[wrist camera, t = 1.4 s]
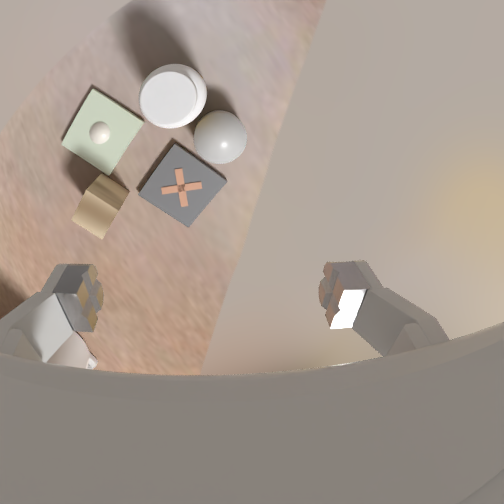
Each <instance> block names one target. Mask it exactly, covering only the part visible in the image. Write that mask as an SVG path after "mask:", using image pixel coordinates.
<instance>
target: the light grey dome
mask: <svg viewBox="0 0 504 504" xmlns="http://www.w3.org/2000/svg"><path fill="white" fill-rule="evenodd" d="M246 142H247V133H246V130H245V127H244V126H243V124H242V123H241V122H240V120H239V119H238V118H237V117H236V116H235V115H234V114H232V113H230V112H228V111H224V110H216V111H212V112H209V113H207V114H206V115H204V116H203V117H202V118H201V119H200V120H199V122H198V123H197V125H196V128H195V133H194V146H195V149H196V151H197V152H198V154H199V155H200V156H201V157H202V158H203V159H205V160H206V161H208V162H211V163H215V164H224V163H228V162H231V161H233V160H234V159H236V158H237V157H238V156H239V155H240V154H241V153H242V152H243V150H244V148H245V146H246Z"/></svg>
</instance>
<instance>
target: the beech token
mask: <svg viewBox="0 0 504 504" xmlns="http://www.w3.org/2000/svg"><path fill="white" fill-rule="evenodd" d="M129 192H130V191H129V190H127V189H125V188H124V187H122V186H121V185H119V184H118V183H116V182H115V181H113V180H112V179H110V178H109V177H107V176H106V175H104V174H102V173H101V174H100V175H99V176H98V177H97V179H96V180H95V181H94V182H93V183H92V184H91V185H90V186H89V187H88V188H87V190H86V191H85V193H84V195H83V197H82V199H81V201H80V203H79V205H78V207H77V209H76V212H75V214H74V216H73V218H72V221H73V222H75V223H76V224H78V225H80V226H81V227H83V228H84V229H86V230H88V231H89V232H91V233H92V234H94V235H96V236H97V237H99V238H100V239H103V237H104V235H105V233H106V232H107V230H108V228H109V227H110V225H111V223H112V221H113V220H114V218H115V216H116V215H117V213H118V211H119V210H120V208H121V206H122V204H123V202H124V201H125V199H126V197H127V195H128V194H129Z"/></svg>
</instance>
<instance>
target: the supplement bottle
mask: <svg viewBox="0 0 504 504" xmlns="http://www.w3.org/2000/svg"><path fill="white" fill-rule="evenodd" d="M206 98H207V87H206V84H205V81H204V79H203V77H202V76H201V75H200V74H199V73H198V72H197V71H196V70H194V69H193V68H191V67H189V66H186V65H182V64H168V65H164V66H161V67H159V68H157V69H156V70H154V71H153V72H151V73H150V74H149V75H148V76H147V77H146V79H145V80H144V82H143V84H142V86H141V88H140V92H139V105H140V109H141V111H142V113H143V115H144V116H145V117H146V119H147V120H149V121H150V122H151V123H153V124H154V125H156V126H159V127H162V128H177V127H181V126H184V125H186V124H188V123H190V122H191V121H193V120H194V119H195V118H196V117H197V116H198V115H199V114H200V112H201V111H202V109H203V107H204V105H205V102H206Z"/></svg>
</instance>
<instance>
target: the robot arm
mask: <svg viewBox="0 0 504 504" xmlns="http://www.w3.org/2000/svg"><path fill="white" fill-rule="evenodd" d="M323 272H324V275H325V277H324V278H323V279H322V280H321V281H320V286H319V299H320V303H321V306H322V307H324V308H325V309H326V310H327V311H326V314H325V316H326V318H327V321H328V323H329V326H330V328H331V329H333V328H344V327H352V329H353V330H354V331H356V332H357V333H358V334H359V335H360V336H361V337H362V338H363V339H365V340H366V341H367V342H368V343H369V344H370V345H371V346H372V347H373V348H375V350H377V351H378V352H379V353H380V354H381V355H382V356H383V357H380V358H374V359H369V360H363V361H358V362H352V363H346V364H339V365H333V366H326V367H318V368H310V369H302V370H294V371H282V372H271V373H257V374H240V375H239V374H238V375H155V374H137V373H123V372H112V371H102V370H93V368H94V367H96V365H97V362H98V361H97V359H96V358H95V357H94V356H93V355H92V354H91V353H90V352H89V350H88V348H87V346H86V344H85V342H84V341H83V339H82V338H81V337H80V336H79V335H78V334H77V333H76V332H75V331H80V332H94V329H95V326H96V323H97V320H98V317H97V314H96V313H97V312H98V311H99V310H101V308H102V305H103V298H104V294H103V288H102V285H101V283H100V282H99V281H98V280H97V279H96V278H97V275H98V272H97V269H96V266H94V265H93V264H58V265H56V267H55V268H54V270H53V272H52V273H51V275H50V277H49V278H48V280H47V282H46V283H45V285H44V287H43V289H42V290H41V292H37V293H35V294H34V295H32V296H31V297H30V298H28V299H27V300H25V301H24V302H23V303H21V304H20V305H19V306H17V307H16V308H15V309H13V310H12V311H11V312H9V313H8V314H7V315H5V316H4V317H3V318H1V319H0V504H504V322H502V323H500V324H497V325H494V326H492V327H489V328H486V329H484V330H480V331H477V332H475V333H472V334H468V335H465V336H462V337H459V338H456V339H452V340H449V338H448V337H447V335H446V334H445V332H444V330H443V329H442V327H441V326H440V324H439V322H438V321H437V319H436V318H435V317H433V316H432V315H430V314H429V313H427V312H425V311H424V310H422V309H421V308H419V307H417V306H416V305H414V304H413V303H411V302H409V301H408V300H406V299H405V298H403V297H401V296H400V295H398V294H397V293H395V292H393V291H392V290H390V289H388V288H384V287H383V286H382V284H381V283H380V281H379V280H378V279H377V277H376V275H375V274H374V272H373V271H372V269H371V268H370V266H369V265H368V263H367V262H366V261H364V260H362V261H351V262H327V263H326V264H325V266H324V270H323Z"/></svg>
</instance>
